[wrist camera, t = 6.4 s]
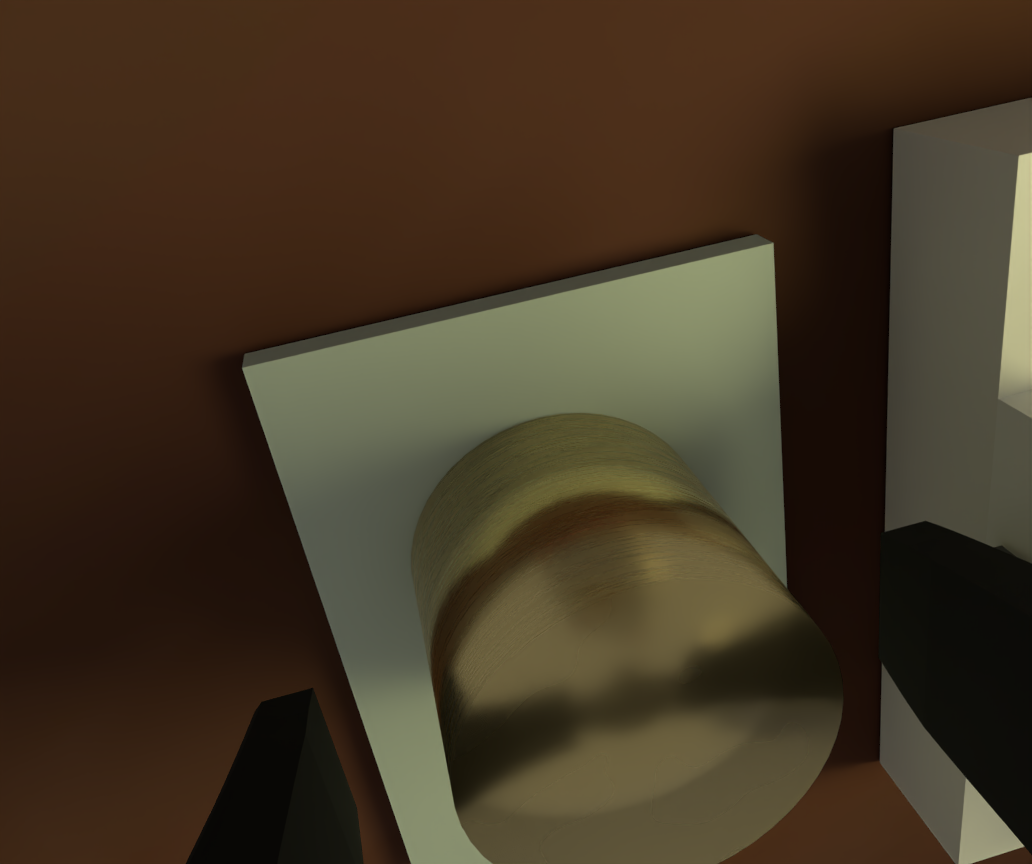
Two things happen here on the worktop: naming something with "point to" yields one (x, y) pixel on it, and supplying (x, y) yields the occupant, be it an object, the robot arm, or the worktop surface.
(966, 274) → the scale
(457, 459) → the rubber mat
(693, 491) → the cylinder
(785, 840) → the worktop surface
